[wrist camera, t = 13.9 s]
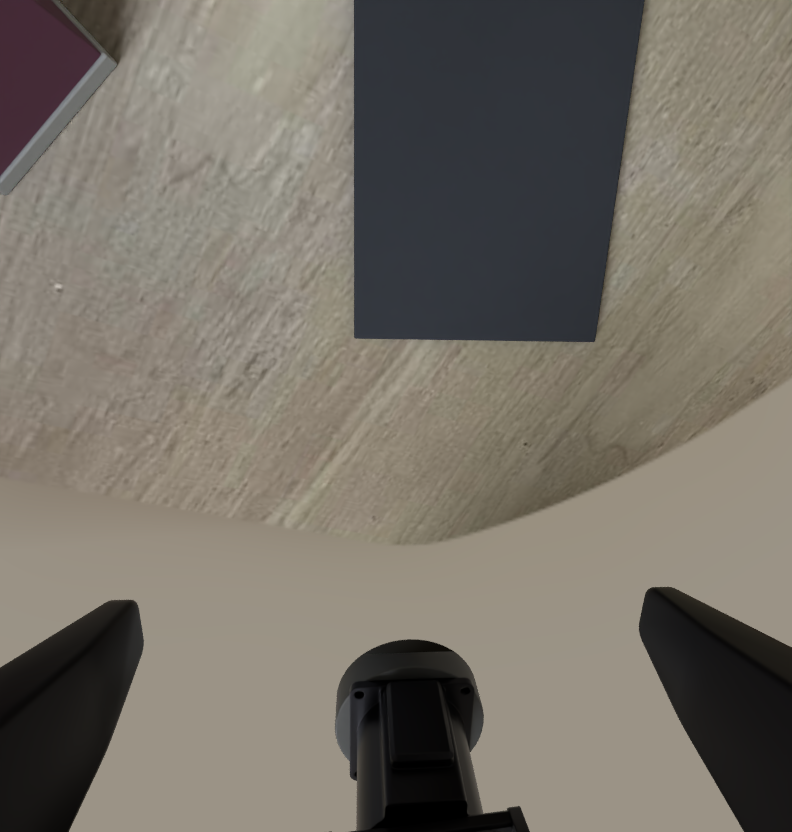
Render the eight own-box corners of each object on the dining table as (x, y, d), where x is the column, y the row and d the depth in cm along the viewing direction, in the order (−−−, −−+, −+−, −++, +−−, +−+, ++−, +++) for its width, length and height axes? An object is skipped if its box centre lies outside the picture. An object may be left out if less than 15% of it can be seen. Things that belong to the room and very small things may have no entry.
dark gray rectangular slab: (590, 340, 21) (595, 342, 20) (354, 337, 20) (354, 338, 20) (661, -149, 16) (668, -159, 16) (354, -176, 15) (354, -187, 15)
